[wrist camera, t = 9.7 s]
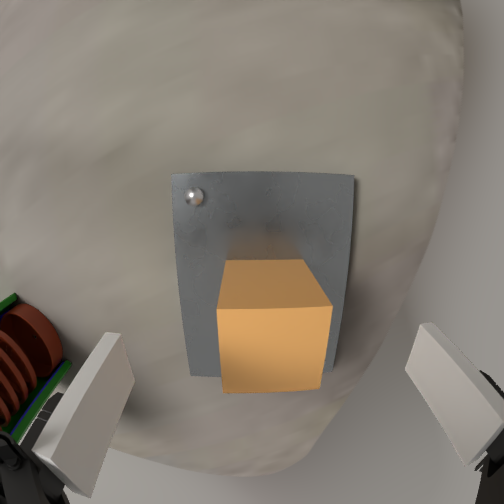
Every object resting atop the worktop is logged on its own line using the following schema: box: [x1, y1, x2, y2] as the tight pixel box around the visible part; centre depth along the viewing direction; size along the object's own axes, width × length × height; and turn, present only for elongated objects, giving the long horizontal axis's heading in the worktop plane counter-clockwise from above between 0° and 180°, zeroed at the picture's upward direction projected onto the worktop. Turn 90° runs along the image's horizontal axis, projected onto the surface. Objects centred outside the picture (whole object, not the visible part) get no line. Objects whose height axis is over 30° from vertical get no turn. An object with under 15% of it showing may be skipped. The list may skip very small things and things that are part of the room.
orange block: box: [217, 259, 333, 393], centre depth 16 cm, size 5×5×7 cm
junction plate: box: [171, 172, 354, 377], centre depth 18 cm, size 16×12×6 cm
